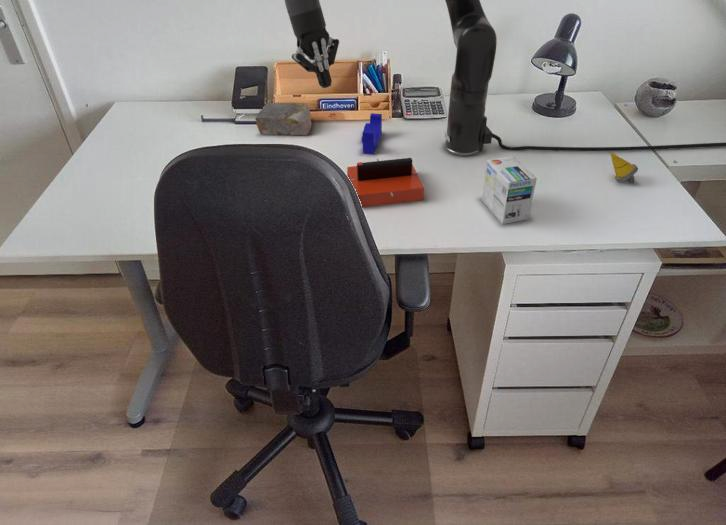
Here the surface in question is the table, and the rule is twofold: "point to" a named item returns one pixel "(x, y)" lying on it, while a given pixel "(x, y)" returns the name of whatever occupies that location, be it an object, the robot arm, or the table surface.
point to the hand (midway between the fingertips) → (326, 86)
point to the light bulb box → (508, 189)
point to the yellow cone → (623, 169)
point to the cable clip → (372, 133)
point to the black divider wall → (384, 169)
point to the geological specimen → (284, 119)
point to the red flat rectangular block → (387, 188)
